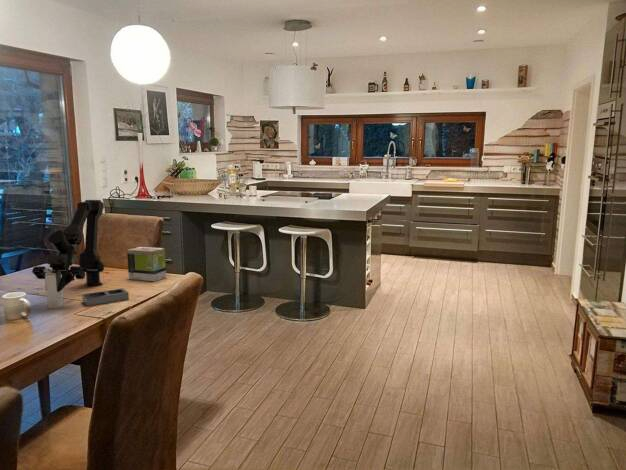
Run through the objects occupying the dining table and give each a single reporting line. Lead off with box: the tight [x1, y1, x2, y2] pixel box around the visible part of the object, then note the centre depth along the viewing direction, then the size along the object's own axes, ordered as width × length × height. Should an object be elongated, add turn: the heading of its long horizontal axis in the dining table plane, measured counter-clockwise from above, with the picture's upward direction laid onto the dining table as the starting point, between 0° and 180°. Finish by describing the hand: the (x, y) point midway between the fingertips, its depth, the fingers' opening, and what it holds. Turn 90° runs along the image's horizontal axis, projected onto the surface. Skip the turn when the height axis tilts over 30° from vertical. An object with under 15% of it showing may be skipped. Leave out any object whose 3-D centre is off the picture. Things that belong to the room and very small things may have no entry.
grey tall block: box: [44, 271, 64, 309], centre depth 189 cm, size 4×4×14 cm
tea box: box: [126, 246, 167, 282], centre depth 234 cm, size 15×10×15 cm
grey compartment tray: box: [81, 287, 130, 307], centre depth 198 cm, size 8×16×3 cm, turn 127°
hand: (52, 291), depth 187 cm, fingers closed on grey tall block, 4 cm apart
